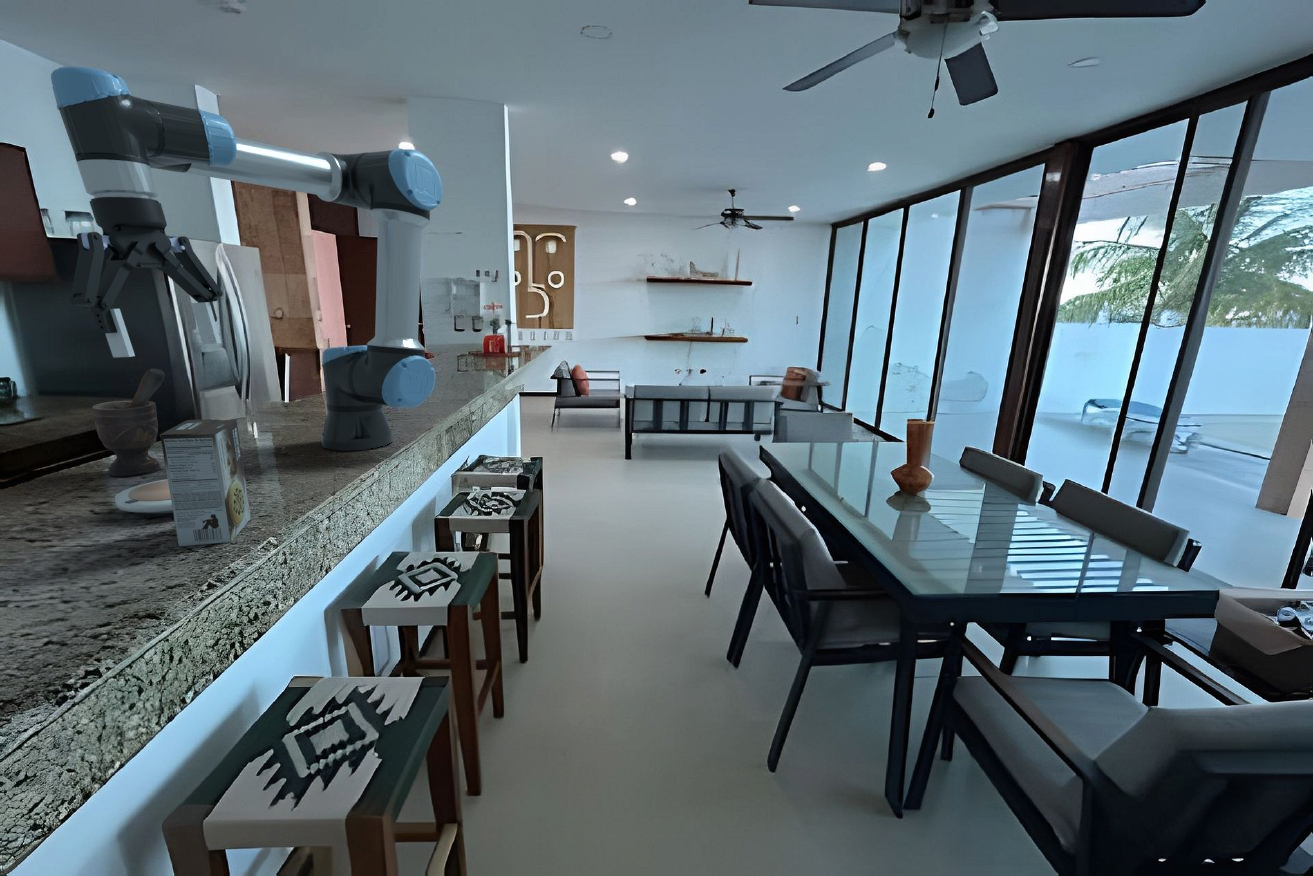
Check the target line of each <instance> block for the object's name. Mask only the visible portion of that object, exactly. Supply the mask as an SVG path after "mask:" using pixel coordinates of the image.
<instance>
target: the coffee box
mask: <svg viewBox="0 0 1313 876" xmlns="http://www.w3.org/2000/svg"><path fill="white" fill-rule="evenodd" d="M238 427H239V426H238V420H237V419H211V418H210V419H188V420H185V421H183V422H181V423H179V424H177V425H175V426H173V427H171V428H170V429H169V428H168V430H166V431H164V432H162V433H160V434H159V437H160V442H161V447H162V454H163V460H164V464H165V465H164V466H165V470H166V471H165V472H166V477H167V479H168V484H169V490H170V496H171V502H172V508H173V514H174V516H173V519H174V525H175V531H176V537H177V542H178V547H187V546H199V545H208V544H209V545H210V544H220V543H221V544H222V543H223V544H224V543H231V542H233V540H234V539H236V537H237V536H238V534H240V532H241V531H242V530H243V528H244V527H245V526H246V525H247V523H248V522H249V521H250V519H252V518H251V517H252V516H251V511H250V510H251V509H250V504H249V499H248V491H247V483H246V475H245V468H244V462H243V455H242V449H241V448H242V447H241V441H240V435H239V434H240V433H239V428H238Z"/></svg>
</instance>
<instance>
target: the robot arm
mask: <svg viewBox="0 0 1313 876" xmlns="http://www.w3.org/2000/svg"><path fill="white" fill-rule="evenodd" d="M50 74H51V75H50V81H51V85H52V90H53V95H54V99H55V102H56V108H57V110H58V111H59V114H60V117H61V119H62V122H63V125H64V129H65V130H66V133H67V136H68V140H69V142H70V145H71V148H72V151H73V154H74V156H75V157H74V158H75V160H76V165H77V169H78V171H79V174H80V177H81V179H82V180H81V181H82V183H83V186H84V189H85V193H87V194H89V195H90V196H92V198H91V199H90V201H89V205H90V208H91V211H92V215H93V219H94V220H95V224H96V225H97V226H98V227H99V228H101V230H102V234H101V233H99V232H98V231H90V232H88V231H87V232H79V233H77V234H76V240H77V245H78V256H77V261H76V265H75V271H74V276H73V282H72V287H71V292H70V296H69V302H70V304H72V305H73V306H80V307H82V308H83V309H85V310H87V311H91V312H92V316H93V319H94V320H95V323H96V327H97V330H98V331H99V333H100V334H101V335H103V334H105V337H106V340H107V343H108V346H109V350H110V352H111V355H112V358H130V357H136V355H135V351H134V349H133V345H132V343H131V339H130V337H129V333H128V329H127V327H126V324H125V321H124V318H123V314H122V312H121V309H120V308H112V307H113V305H114V302H115V301H116V299H117V297H118V295H119V293H120V292H121V290H122V288H123V285H124V284H125V281H126V280H127V278H128V276H129V274H130V272H131V271H132V270H134V269H137V268H148V269H149V268H150V269H151V268H155V269H156V270H158V271H162V272H163V274H165V275H166V276H167V277H169V278H170V279H171V280H172V281H173V282H174V283H175V284H176V285H178V286H179V287H180V288H181V289H182V290H183V291H184V292H185V293H186V294H187V295H189V296H190V297H191V298H192V299H193V300H194V301H195V302H191V303H190V305H191V309H192V312H193V316H194V318H195V322H196V327H197V329H198V333H199V336H200V340H201V343H202V345H213V344H215V345H216V344H221V343H222V342H221V337H220V334H219V330H218V326H217V322H218V316H217V313H216V308H215V306H214V302H218V301H219V298H221V297H223V295H224V293H223V290H222V289H221V288H220V287H219V285H218V283H216V281H215V279H214V278H213V277H212V276H211V274H210V272H209V270H207V268H206V267H205V266H204V264H203V263H202V261H201V260H200V259H199V257H198V256H197V255H196V252H195V251H194V249H193V247H192V244H191V242H190V240H189V238H188V236H185V235H184V236H170V237H169V236H168V235H167V233H166V232H165V231H166V227H167V226H168V224H167V223H168V222H167V220H166V217H165V213H164V210H163V205H162V203H161V202H159V200H156V199H155V198H158V196H159V191H158V188H157V185H156V182H155V178H154V175H153V172H152V169H157V170H163V171H170V172H175V173H184V174H189V175H196V176H197V175H198V176H202V177H208V178H214V179H220V180H227V181H233V182H240V183H244V184H245V183H246V184H250V185H251V184H252V185H257V186H262V187H263V186H264V187H269V188H276V189H281V190H287V191H293V192H299V193H305V194H309V195H310V194H312V195H316V196H317V197H318V198H319V199H320V200H322V201H324V202H328V203H329V202H330V203H335V204H341V205H345V206H349V207H354V208H358V209H363V210H367V211H368V210H369V212H370V214H371V216H372V217H373V218H374V219H375V221H376V222H377V245H376V246H377V251H376V253H377V256H376V285H375V286H376V291H375V292H376V293H375V294H376V295H375V298H376V299H375V325H374V326H375V328H374V330H375V331H374V333H375V335H374V337H373V338H371V340H369V341H368V342H366V344H365V345H348V346H337V347H327V348H325V349H324V350H323V352H322V357H321V358H322V361H321V363H322V364H321V367H322V369H323V370H322V371H323V381H324V393H325V401H326V417H325V421H324V426H323V431H322V433H321V435H320V439H321V440H320V441H321V447H322V446H323V447H322V448H324V449H326V448H327V450H331V451H343V452H344V451H345V452H346V451H347V452H348V451H352V452H353V451H365V450H372V449H371V448H373V449H377V447H379V448H381V447H380V446H383V447H386V446H388V445H387V444H389V443H391V442H392V441H393V442H394V432H393V429H391V426H390V424H389V421H388V418H387V416H386V414H385V412H384V406H387V407H388V406H389V407H392V408H395V409H399V408H400V409H411V408H416V407H419V406H421V405H422V404H423V403H425V401H426V400H427V399H429V398H430V396H431V394H432V393H433V390H434V388H435V383H436V371H435V369H434V367H433V366H432V363H431V362H430V361H429V360H428V359H427V358H426V356H425V355H426V348H425V347H424V346H423V345H422V344H421V342H420V341H419V325H420V324H419V321H420V320H419V318H420V317H419V316H420V296H421V295H420V293H421V291H420V290H421V265H422V238H423V237H422V235H423V230H424V229H425V228H426V227H427V226H428V225H430V222H431V221H430V220H431V211H433V210H434V209H436V208H437V207H438V206H439V204H440V205H441V202H442V199H443V193H444V189H443V182H442V178H441V177H440V173H439V171H438V170H437V168H436V167H435V165H434V163H433V161H431V160H430V159H429V157H427V155H425V154H423V152H420V151H418V150H415V149H410V148H409V149H408V148H407V149H406V148H405V149H404V148H395V149H391V150H380V151H373V152H369V151H368V152H360V153H348V154H347V153H346V154H345V153H344V154H342V153H332V152H327V151H320V152H317V153H316V154H313V153H309V152H305V151H300V150H296V149H291V148H287V147H282V146H277V145H273V144H268V143H265V142H259V141H255V140H250V139H246V138H244V137H243V138H241V137H238V136H236V135H235V132H234V130H233V128H232V127H231V125H230V122H228V121H227V119H226V118H224V117H223V116H221V115H219V114H216V113H214V112H209V111H207V110H206V111H205V110H202V109H200V108H191V107H185V106H181V105H175V104H169V103H165V102H164V103H163V102H159V101H154V100H153V101H152V100H149V99H148V100H147V99H145V98H140V97H138V96H133V95H132V94H131V91H130V90H129V88H128V86H127V83H126V82H125V80H124V79H123V78H121V76H119V75H117V74H114V73H110V72H108V71H105V70H102V69H97V68H91V67H84V66H61V67H58V68H56V69H54V70H53V71H52V72H51V73H50ZM106 249H108V250H109V251H110V254H109V255H108V256H109V257H108V258H107V260H106V262H105V266H106V267H105V269H104V270H103V272H102V269H103V264H104V259H105V251H106ZM171 251H172V253H171ZM393 442H392V443H393ZM392 443H391V444H392ZM385 445H386V446H385ZM389 445H390V444H389Z"/></svg>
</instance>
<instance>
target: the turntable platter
mask: <svg viewBox="0 0 1313 876" xmlns="http://www.w3.org/2000/svg"><path fill="white" fill-rule="evenodd" d="M114 503H115V507H116V508H117V509H118V510H120V511H124V512H128V513H129V512H130V513H136V512H159V511H169V510H173V508H172V502H171V496H170V490H169V484H168V478H167V479H166V478H165V479H160V480H155V481H151V482H146V483H145V482H144V483H141V484H139V485H134V486H132V487H129V488H127V489H124V490H122V491H120V492H119V493H117V494H116V495H115V497H114Z"/></svg>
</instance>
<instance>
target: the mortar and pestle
mask: <svg viewBox="0 0 1313 876" xmlns="http://www.w3.org/2000/svg"><path fill="white" fill-rule="evenodd" d="M165 377H166V373H165V372H164V371H163V370H161V369H158V368H154V367H153V368H150V369H148V370H146V371H145V373H144V374H143V376H142V378H141V380H140V383H139V385H138V388H137V391H136V393H134V396H133V398H132V400H113V401H107V402H102V403H97V404H94V405H92V407H91V408H92V409H91V411H92V415H93V420H94V425H95V430H96V432H97V436H98V438H99V440H100V441H101V443H102V445H103V447H104V448H106V449H107V450H108V451H111V452H112V453H114V454H115V456H116V458H115V459H114V461H113V462H112V463H110V464H109V467H108V470H107V471H108V475H109V477H110V476H111V477H130V476H135V475H136V476H137V475H142V474H150V473H155V472H157V471H160V470H161V468H162V467H161V464H160V462H159V461H158V460H157V459H156V458H154V457H152V456H150V454H149V450H150V448H151V447H153V446H154V445H155V443H156V442H157V437H158V433H159V432H158V431H159V424H158V417H157V415H158V414H157V413H158V412H157V405H156V402H154V401H151V400H150V398H151V397H152V396H153V394H155V393H156V391H157V390H158V389H159V388H160V387H161V385H162V383H163V381H164V380H165Z"/></svg>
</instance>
